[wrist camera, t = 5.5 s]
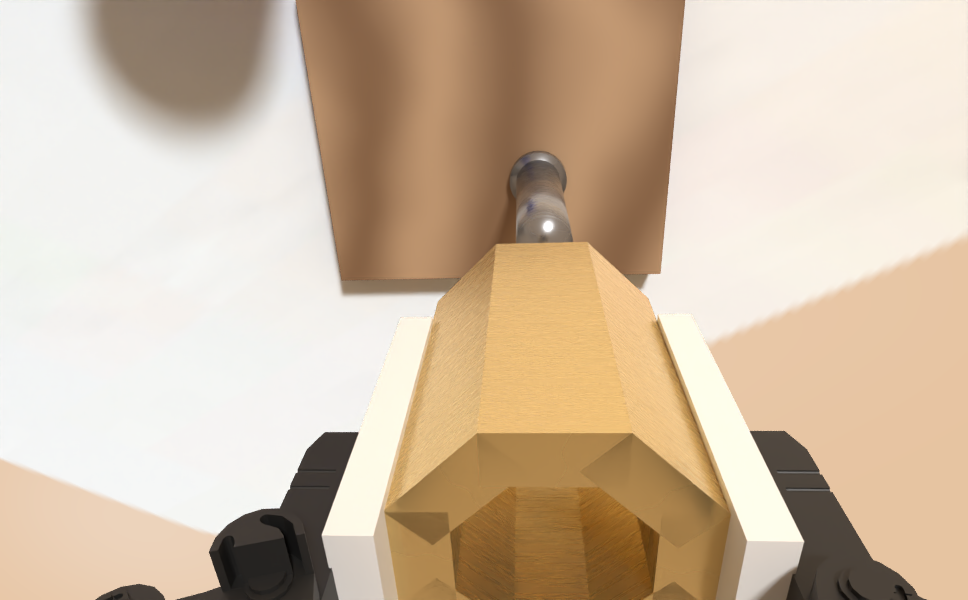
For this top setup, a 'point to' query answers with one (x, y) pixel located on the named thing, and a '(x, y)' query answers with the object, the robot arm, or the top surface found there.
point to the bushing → (552, 444)
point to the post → (540, 199)
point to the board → (490, 124)
